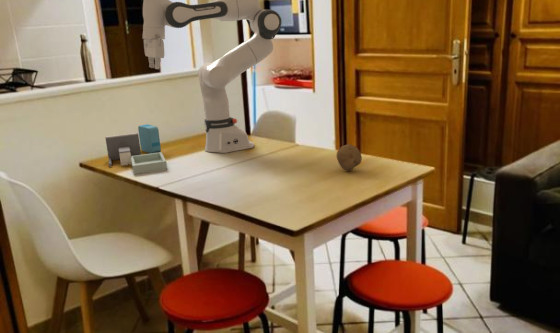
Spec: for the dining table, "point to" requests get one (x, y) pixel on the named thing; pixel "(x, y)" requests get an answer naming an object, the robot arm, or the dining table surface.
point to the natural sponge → (349, 157)
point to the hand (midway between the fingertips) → (154, 68)
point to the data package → (149, 138)
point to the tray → (148, 163)
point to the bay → (122, 145)
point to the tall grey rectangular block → (125, 155)
